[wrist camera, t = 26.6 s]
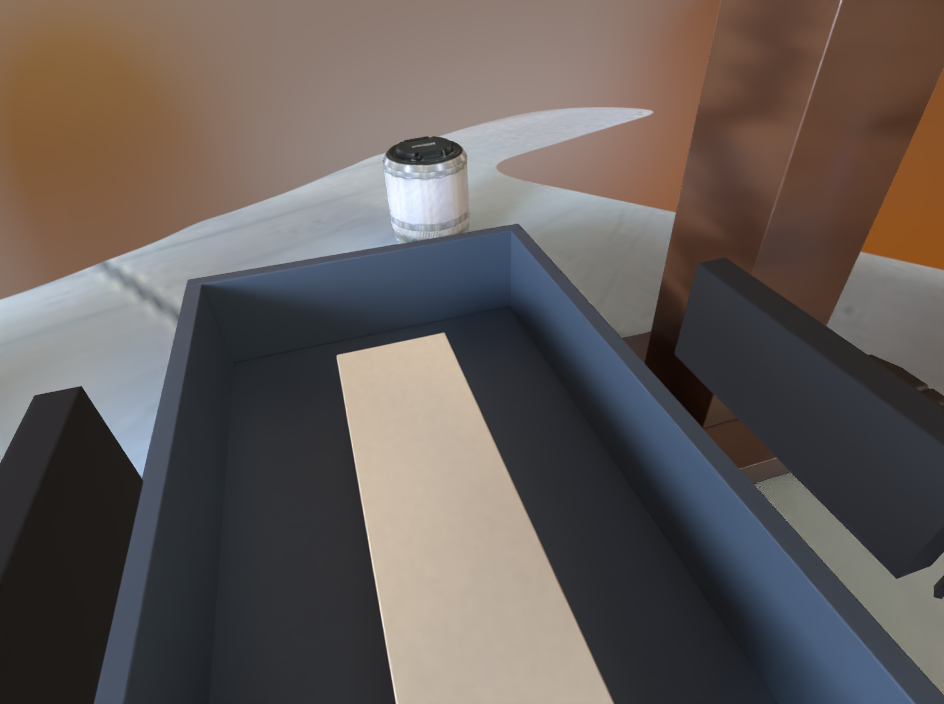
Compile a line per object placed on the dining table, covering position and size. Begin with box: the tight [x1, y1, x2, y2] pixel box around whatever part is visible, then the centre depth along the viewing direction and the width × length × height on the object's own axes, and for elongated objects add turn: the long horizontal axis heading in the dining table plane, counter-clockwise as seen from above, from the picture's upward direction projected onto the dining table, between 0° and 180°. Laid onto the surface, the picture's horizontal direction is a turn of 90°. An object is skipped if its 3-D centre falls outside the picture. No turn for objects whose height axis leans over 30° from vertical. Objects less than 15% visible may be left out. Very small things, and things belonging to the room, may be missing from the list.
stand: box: [622, 0, 944, 484], centre depth 18 cm, size 14×10×31 cm
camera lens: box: [383, 137, 469, 244], centre depth 42 cm, size 6×6×8 cm
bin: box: [94, 224, 944, 704], centre depth 18 cm, size 32×18×7 cm, turn 17°
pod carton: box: [337, 333, 614, 704], centre depth 17 cm, size 19×5×4 cm, turn 17°
